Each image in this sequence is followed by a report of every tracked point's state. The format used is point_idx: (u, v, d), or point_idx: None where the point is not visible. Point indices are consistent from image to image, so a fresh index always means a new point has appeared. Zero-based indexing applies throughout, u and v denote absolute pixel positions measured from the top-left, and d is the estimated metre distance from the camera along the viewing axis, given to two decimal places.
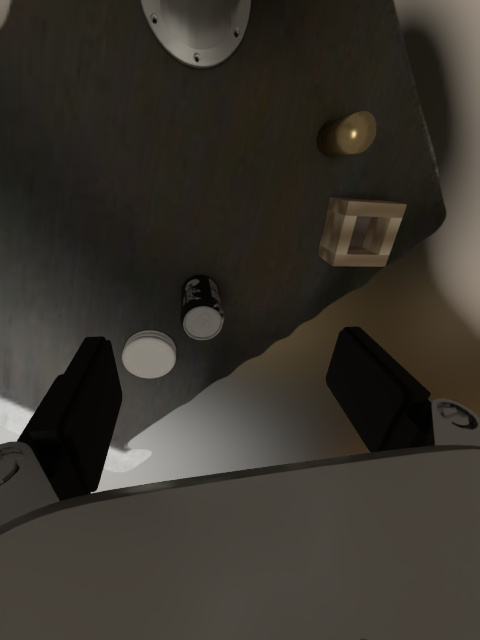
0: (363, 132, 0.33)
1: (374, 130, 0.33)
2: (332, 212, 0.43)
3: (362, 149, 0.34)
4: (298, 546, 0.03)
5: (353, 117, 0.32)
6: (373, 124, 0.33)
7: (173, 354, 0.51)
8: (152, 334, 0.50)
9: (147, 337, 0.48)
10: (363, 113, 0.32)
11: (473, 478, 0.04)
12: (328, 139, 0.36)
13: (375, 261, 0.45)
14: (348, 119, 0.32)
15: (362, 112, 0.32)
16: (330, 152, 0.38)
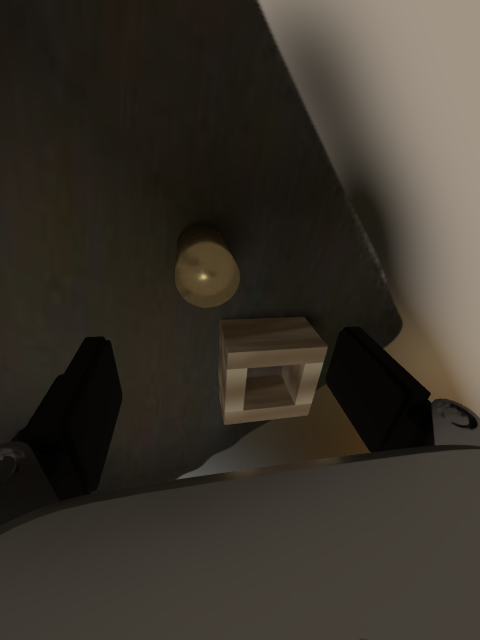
0: (214, 278, 0.18)
1: (236, 272, 0.18)
2: (221, 346, 0.28)
3: (220, 300, 0.19)
4: (298, 546, 0.03)
5: (187, 257, 0.17)
6: (232, 263, 0.18)
7: None
8: None
9: None
10: (205, 250, 0.17)
11: (472, 478, 0.04)
12: None
13: (291, 412, 0.30)
14: (180, 259, 0.17)
15: (203, 249, 0.17)
16: None
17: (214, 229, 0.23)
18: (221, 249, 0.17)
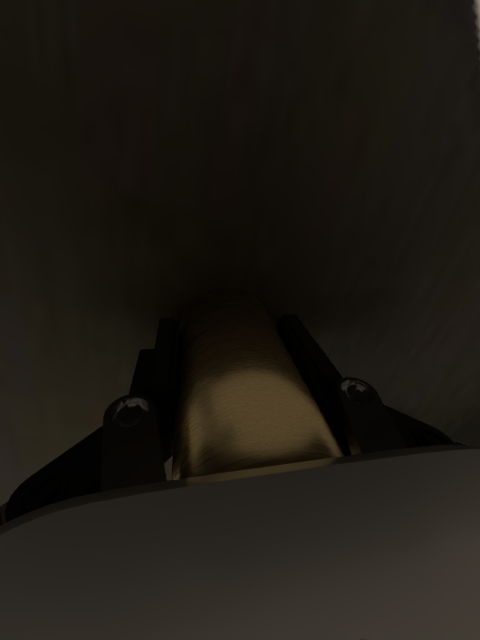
0: None
1: None
2: None
3: None
4: (298, 546, 0.03)
5: None
6: None
7: None
8: None
9: None
10: None
11: (472, 478, 0.04)
12: None
13: None
14: None
15: (264, 465, 0.05)
16: None
17: (256, 306, 0.11)
18: (319, 451, 0.05)
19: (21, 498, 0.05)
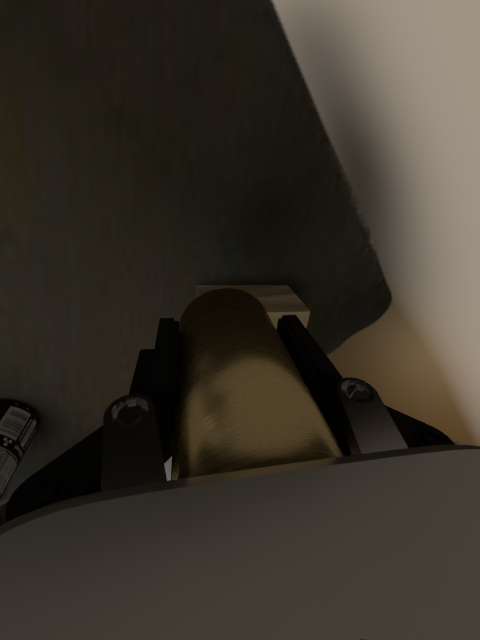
0: None
1: None
2: None
3: None
4: (298, 546, 0.03)
5: None
6: None
7: None
8: None
9: None
10: None
11: (473, 477, 0.04)
12: None
13: None
14: None
15: (264, 464, 0.05)
16: None
17: (256, 306, 0.11)
18: (319, 451, 0.05)
19: (22, 497, 0.05)
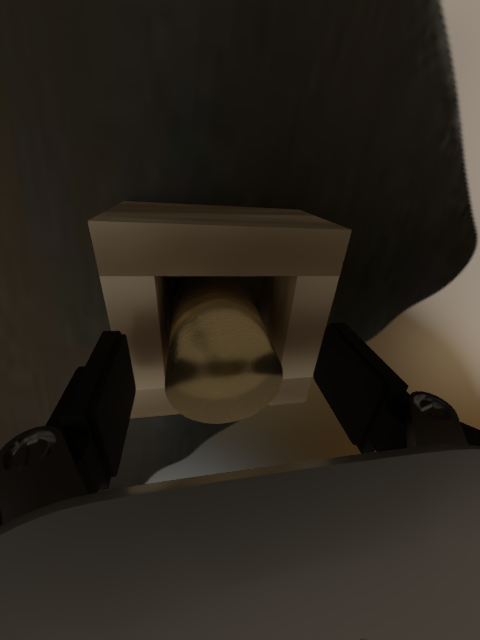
0: (237, 382, 0.10)
1: (276, 372, 0.10)
2: None
3: (246, 412, 0.11)
4: (298, 546, 0.03)
5: (186, 356, 0.09)
6: (270, 360, 0.09)
7: None
8: None
9: None
10: (222, 342, 0.09)
11: (473, 478, 0.04)
12: None
13: None
14: (174, 355, 0.09)
15: (217, 340, 0.09)
16: None
17: None
18: (252, 337, 0.09)
19: None
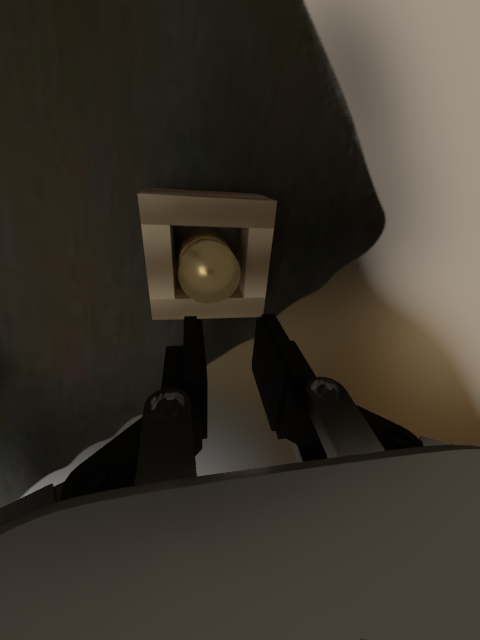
0: (215, 274, 0.19)
1: (236, 268, 0.19)
2: None
3: (223, 296, 0.19)
4: (298, 546, 0.03)
5: (189, 255, 0.18)
6: (232, 260, 0.18)
7: None
8: None
9: None
10: (207, 247, 0.17)
11: (473, 478, 0.04)
12: None
13: (241, 309, 0.24)
14: (183, 257, 0.18)
15: (204, 246, 0.17)
16: None
17: (215, 229, 0.23)
18: (222, 246, 0.18)
19: (75, 484, 0.05)
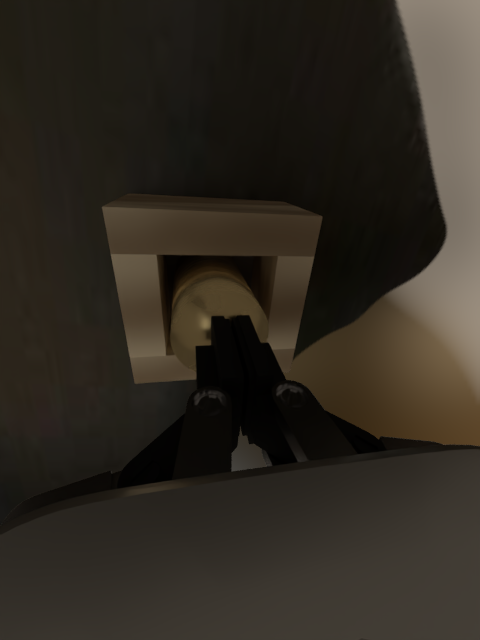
0: None
1: (263, 324, 0.12)
2: None
3: None
4: (298, 546, 0.03)
5: (187, 310, 0.11)
6: (256, 312, 0.11)
7: None
8: None
9: None
10: (215, 297, 0.11)
11: (473, 478, 0.04)
12: None
13: None
14: (177, 312, 0.11)
15: (211, 295, 0.11)
16: None
17: None
18: (239, 293, 0.11)
19: (132, 479, 0.06)
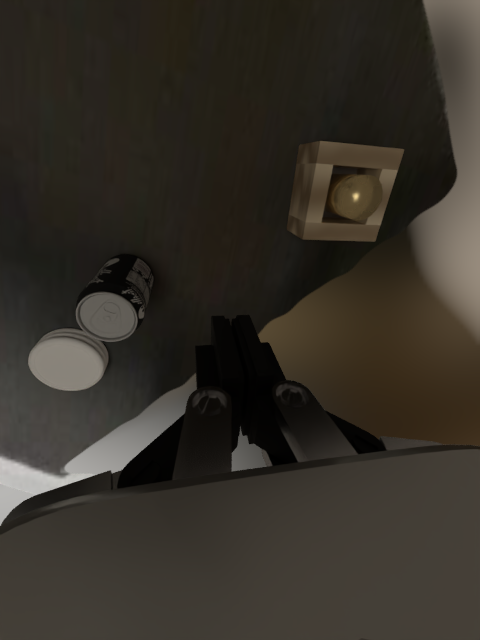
0: (366, 198, 0.28)
1: (380, 194, 0.28)
2: (302, 164, 0.31)
3: (366, 215, 0.29)
4: (298, 546, 0.03)
5: (354, 183, 0.27)
6: (379, 187, 0.27)
7: (99, 360, 0.39)
8: (69, 334, 0.38)
9: (60, 337, 0.36)
10: (366, 177, 0.27)
11: (473, 478, 0.04)
12: (326, 199, 0.31)
13: (362, 234, 0.33)
14: (348, 185, 0.27)
15: (365, 176, 0.27)
16: (328, 211, 0.33)
17: None
18: (374, 177, 0.27)
19: (133, 479, 0.06)
